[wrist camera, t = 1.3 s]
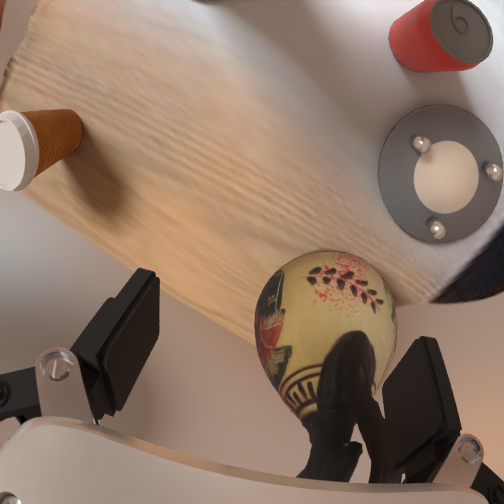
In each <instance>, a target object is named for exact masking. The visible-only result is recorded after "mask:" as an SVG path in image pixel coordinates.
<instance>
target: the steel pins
mask: <svg viewBox="0 0 504 504" xmlns="http://www.w3.org/2000/svg"><path fill="white" fill-rule="evenodd" d="M410 145H411V146H412V147H413V148H415V149H416V150H418V151H419V152H421V153H428V152H429V151H430V149H431V142H430V141H429V140H428V139H427V138H425V137H423V136H421V135H419V134H413V135H412V136H411V137H410ZM482 171H483V173H484V174H486V175H488V176H489V177H491V178H492V179H494V180H495V181H499V180H501V179H502V177H503V170H502V169H501V168H500V167H499V166H497V165H495V164H493V163H492V162H490V161H485V162H484V163H483V165H482ZM426 226H427V228H428V229H429V230H430V232H431V233H432V235H433V236H434V238H436V239H441V238H443V237H444V236H445V233H446V230H445V228H444V226H443V225H442V224H441V223H440V221H439V220H438V219H437V218H436V217H430V218H429V219H428V220H427V222H426Z"/></svg>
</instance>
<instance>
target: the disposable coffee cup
mask: <svg viewBox="0 0 504 504" xmlns="http://www.w3.org/2000/svg"><path fill="white" fill-rule="evenodd" d="M82 135H83V128H82V123H81V121H80V118H79V117H78V115H77V114H76V113H75V112H74V111H72V110H70V109H59V110H41V111H28V112H16V111H5V112H2V113H1V114H0V188H1V189H3V190H6V191H11V190H13V191H20V190H22V189H24V188H25V187H27V186H28V185H29V183H30V182H31V181H32V179H33V178H34V177H36V176H37V175H39V174H40V173H42V172H43V171H44V170H46V169H47V168H49V167H50V166H52V165H53V164H55V163H56V162H58V161H59V160H61V159H62V158H64V157H65V156H67V155H68V154H70V153H71V152H73V151H75V150H76V149H77V148H78V147H79V145H80V143H81V140H82Z"/></svg>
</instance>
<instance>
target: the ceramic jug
mask: <svg viewBox="0 0 504 504" xmlns="http://www.w3.org/2000/svg"><path fill="white" fill-rule="evenodd" d="M358 221H359V220H358ZM254 327H255V338H256V345H257V351H258V355H259V358H260V361H261V364H262V366H263V368H264V371H265V373H266V375H267V376H268V378H269V380H270V381H271V383H272V385H273V386H274V388H275V389H276V390H277V392H278V394H279V395H280V397H281V398H282V400H283V401H284V403H285V404H286V405H287V406H288V407H289V408H290V410H291V412H293V413H294V414H295V415H296V416H297V418H298V419H300V421H301V423H302V425H303V426H304V427H305V428H306V429H307V431H308V433H309V437H310V442H311V444H312V447H311V451H310V457H309V460H308V463H307V465H306V467H305V469H304V470H302V471H301V472H300V473H299V474H298V476H296V477H295V478H303V479H312V480H322V481H333V482H347V483H348V482H349V480H350V478H351V476H352V474H353V472H354V469H355V467H356V466H357V462H358V459H359V457H360V455H361V454H362V453H363V451H362V444H361V443H358V442H356V441H353V442H350V439H351V436H352V433H353V429H354V426H355V425H356V423H357V424H358V427H359V430H360V433H361V435H362V437H363V440H364V442H365V444H366V447H367V451H368V454H369V456H370V459H371V471H370V478H369V482H368V483H371V484H401V479H402V474H392V467H391V466H389V462H388V448H387V435H386V423H385V419H384V418H383V416H382V414H381V411H380V407H379V405H378V402H377V401H375V400H374V399H373V396H374V394H375V393H376V391H377V389H378V388H379V386H380V384H381V383H382V381H383V379H384V377H385V375H386V373H387V371H388V369H389V366H390V364H391V361H392V358H393V355H394V352H395V346H396V337H397V320H396V310H395V305H394V301H393V298H392V295H391V292H390V290H389V288H388V285H387V284H386V282H385V280H384V278H383V277H381V275H380V274H379V273H378V272H377V271H376V270H375V269H374V268H373V267H372V266H371V265H370V264H369V263H367V262H366V261H365V260H363V259H362V258H360V257H357V256H354V255H352V254H349V253H346V252H341V251H335V250H331V249H319V250H316V251H312V252H309V253H306V254H304V255H302V256H300V257H297V258H295V259H293V260H292V261H290V262H289V263H287V264H285V265H284V266H282V267H281V268H280V269H279V270H277V271H276V272H275V274H274V275H273V276H272V277H271V278H270V279H269V281H268V282H267V284H266V285H265V287H264V289H263V290H262V293H261V295H260V297H259V300H258V302H257V306H256V311H255V323H254Z"/></svg>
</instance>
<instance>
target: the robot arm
mask: <svg viewBox="0 0 504 504" xmlns="http://www.w3.org/2000/svg"><path fill="white" fill-rule="evenodd" d="M159 293H160V279H159V277H156V274H155V272H153V271H150V270H146V269H143V268H138V269H137V270H136V272H135V273H134V274H133V275H132V277H131V278H130V279H129V281H128V282H127V283H126V285H125V286H124V287H123V289H122V290H121V291H120V292H119V294H118V295H117V296H116V298H112V297H110V298H108V299H107V300H106V301H105V303H104V304H103V305H102V307H101V308H100V309H99V310H98V312H97V313H96V315H95V316H94V317H93V318H92V320H91V321H90V322H89V324H88V325H87V327H86V328H85V329H84V331H83V332H82V333H81V335H80V336H79V337H78V339H77V341H76V342H75V343H74V344H73V346H72V347H71V349H70V350H67V349H64V348H52V349H49V350H46V351H45V352H43V353H42V354H41V355H40V356H39V358H38V359H37V362H36V366H35V367H31V368H27V369H23V370H18V371H14V372H10V373H6V374H1V375H0V448H1V447H2V443H4V442H5V441H7V440H8V441H7V443H6V444H5V446H4V447H3V449H2V450H1V452H0V504H504V482H503V480H501V479H500V478H499V477H498V476H497V475H496V474H495V473H494V472H493V471H492V470H491V469H489V468H488V467H487V466H486V465H485V464H484V463H483V462H482V461H483V457H484V450H483V446H482V444H481V442H480V441H479V440H478V439H477V438H476V437H475V436H473V435H472V434H462V435H460V430H462V428H461V423H460V419H459V415H458V411H457V407H456V403H455V399H454V395H453V391H452V388H451V384H450V381H449V377H448V374H447V371H446V367H445V364H444V361H443V358H442V355H441V352H440V349H439V346H438V343H437V340H436V339H435V338H431V337H425V336H421V337H420V338H419V339H416V340H415V341H414V342H413V343H412V345H411V346H410V348H409V349H408V351H407V352H406V354H405V355H404V356H403V358H402V359H401V361H400V362H399V363H398V365H397V366H396V368H395V369H394V370H393V372H392V373H391V374H390V375H389V377H388V378H387V379H386V381H385V382H384V384H383V387H382V395H383V404H384V412H385V423H386V435H387V448H388V462H389V466H391V467H392V474H404V473H405V480H404V481H403V482H402V484H371V483H347V482H333V481H322V480H312V479H303V478H295V477H288V476H281V475H275V474H269V473H263V472H257V471H253V470H247V469H243V468H238V467H233V466H229V465H224V464H220V463H216V462H212V461H208V460H204V459H201V458H197V457H193V456H190V455H186V454H183V453H180V452H176V451H173V450H170V449H167V448H164V447H160V446H157V445H154V444H151V443H148V442H145V441H142V440H139V439H137V438H134V437H131V436H128V435H126V434H123V433H120V432H117V431H114V430H111V429H109V428H106V427H103V426H101V425H100V422H99V420H100V419H102V418H103V416H104V414H108V415H110V416H114V414H115V412H116V410H118V411H121V410H122V408H123V406H124V404H125V402H126V400H127V398H128V396H129V394H130V392H131V390H132V388H133V386H134V384H135V382H136V380H137V378H138V376H139V374H140V372H141V370H142V368H143V366H144V364H145V362H146V360H147V358H148V357H149V355H150V352H151V351H152V349H153V347H154V345H155V343H156V341H157V339H158V336H159V298H160V297H159V296H160V295H159Z"/></svg>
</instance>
